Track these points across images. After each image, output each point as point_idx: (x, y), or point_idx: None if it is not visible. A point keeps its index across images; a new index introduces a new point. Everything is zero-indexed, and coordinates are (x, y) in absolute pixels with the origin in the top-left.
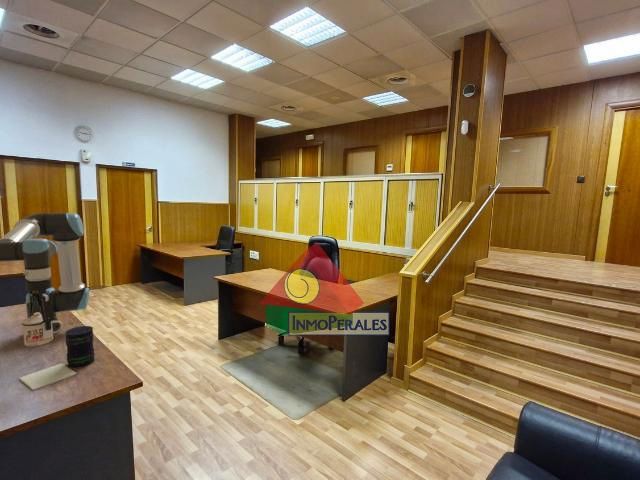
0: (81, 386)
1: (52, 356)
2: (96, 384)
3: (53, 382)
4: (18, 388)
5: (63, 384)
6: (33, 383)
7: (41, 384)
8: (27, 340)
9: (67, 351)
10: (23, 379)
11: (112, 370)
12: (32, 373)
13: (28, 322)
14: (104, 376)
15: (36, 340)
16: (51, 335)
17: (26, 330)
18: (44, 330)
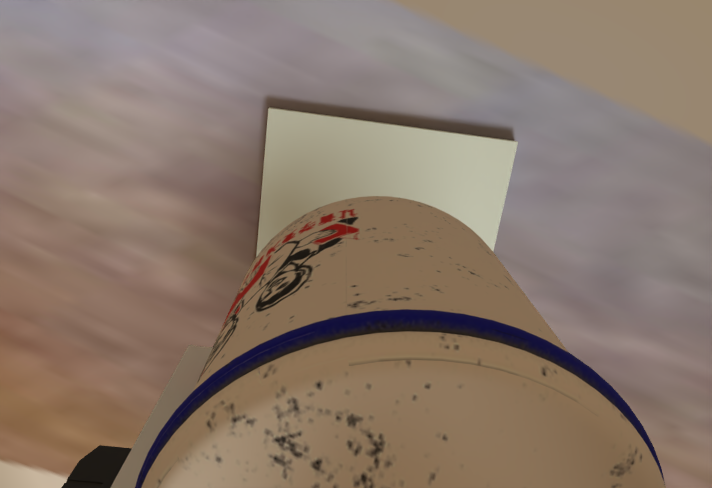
0: (69, 268)
1: (640, 386)
2: (20, 318)
3: (260, 215)
4: (389, 76)
5: (189, 232)
6: (347, 146)
7: (286, 163)
8: (334, 222)
9: None
10: (468, 143)
11: (115, 443)
12: (500, 210)
13: (289, 410)
14: (80, 387)
15: (244, 283)
16: None
17: (330, 282)
18: (147, 435)
